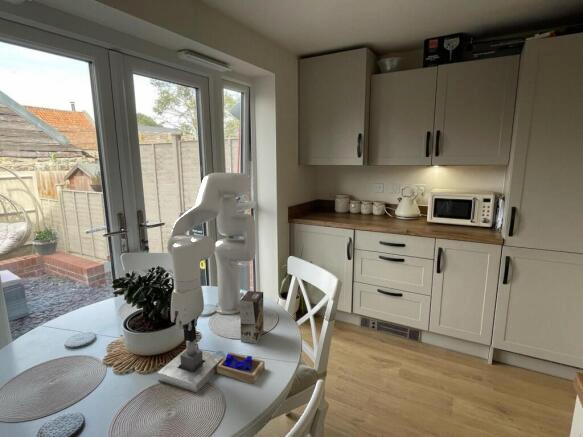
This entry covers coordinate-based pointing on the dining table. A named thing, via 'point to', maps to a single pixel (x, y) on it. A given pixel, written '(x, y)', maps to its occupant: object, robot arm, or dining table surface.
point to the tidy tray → (241, 374)
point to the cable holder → (238, 363)
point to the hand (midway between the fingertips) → (190, 339)
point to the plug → (191, 358)
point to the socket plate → (189, 379)
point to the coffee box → (251, 316)
